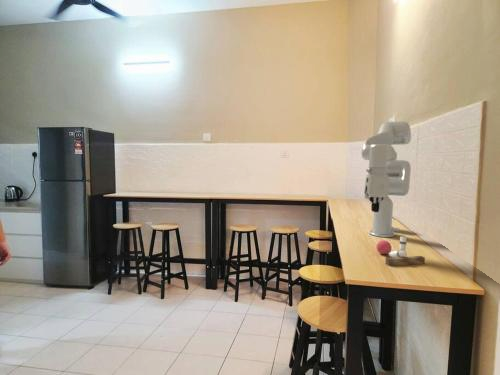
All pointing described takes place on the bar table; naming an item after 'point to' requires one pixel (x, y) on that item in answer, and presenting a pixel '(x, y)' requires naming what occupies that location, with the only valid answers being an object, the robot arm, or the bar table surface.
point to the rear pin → (402, 244)
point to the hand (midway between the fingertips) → (375, 211)
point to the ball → (383, 247)
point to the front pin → (397, 254)
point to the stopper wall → (405, 260)
